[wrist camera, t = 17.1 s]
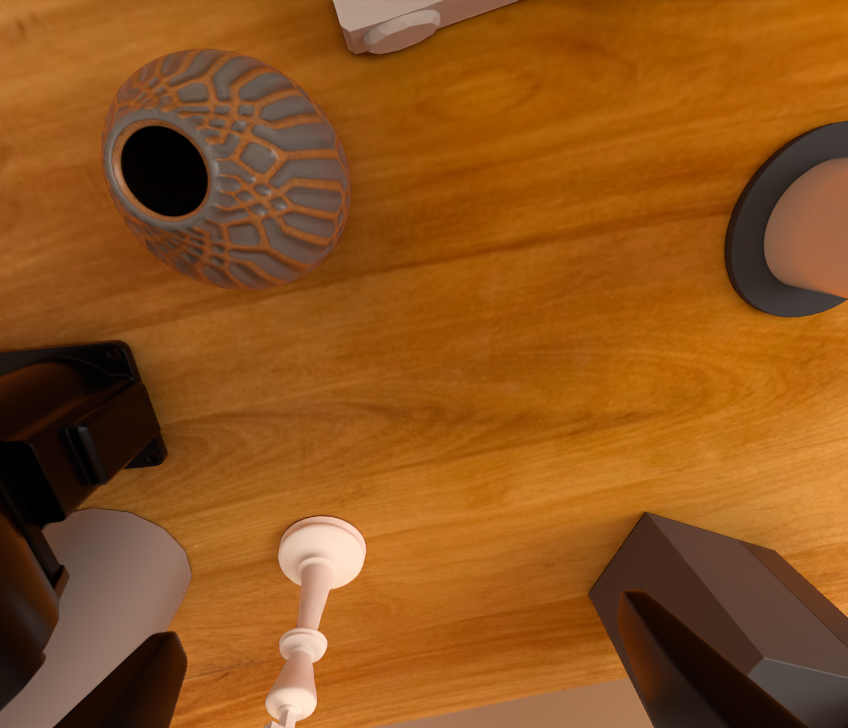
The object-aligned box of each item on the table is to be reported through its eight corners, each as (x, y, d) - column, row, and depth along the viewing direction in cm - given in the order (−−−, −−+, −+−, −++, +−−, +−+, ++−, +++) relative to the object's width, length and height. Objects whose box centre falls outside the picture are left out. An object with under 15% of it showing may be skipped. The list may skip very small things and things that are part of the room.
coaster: (710, 322, 20) (716, 325, 20) (745, 129, 17) (753, 128, 17) (874, 307, 21) (882, 309, 20) (937, 114, 18) (949, 112, 17)
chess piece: (322, 593, 25) (279, 821, 16) (261, 547, 24) (174, 770, 14) (383, 551, 24) (375, 766, 15) (324, 500, 23) (275, 706, 13)
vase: (372, 116, 16) (350, 29, 8) (344, 287, 19) (304, 352, 10) (188, 64, 15) (-48, -93, 7) (182, 252, 18) (0, 294, 10)
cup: (203, 616, 25) (91, 856, 16) (62, 624, 25) (-139, 877, 16) (172, 504, 22) (11, 721, 13) (10, 511, 22) (-277, 741, 12)
